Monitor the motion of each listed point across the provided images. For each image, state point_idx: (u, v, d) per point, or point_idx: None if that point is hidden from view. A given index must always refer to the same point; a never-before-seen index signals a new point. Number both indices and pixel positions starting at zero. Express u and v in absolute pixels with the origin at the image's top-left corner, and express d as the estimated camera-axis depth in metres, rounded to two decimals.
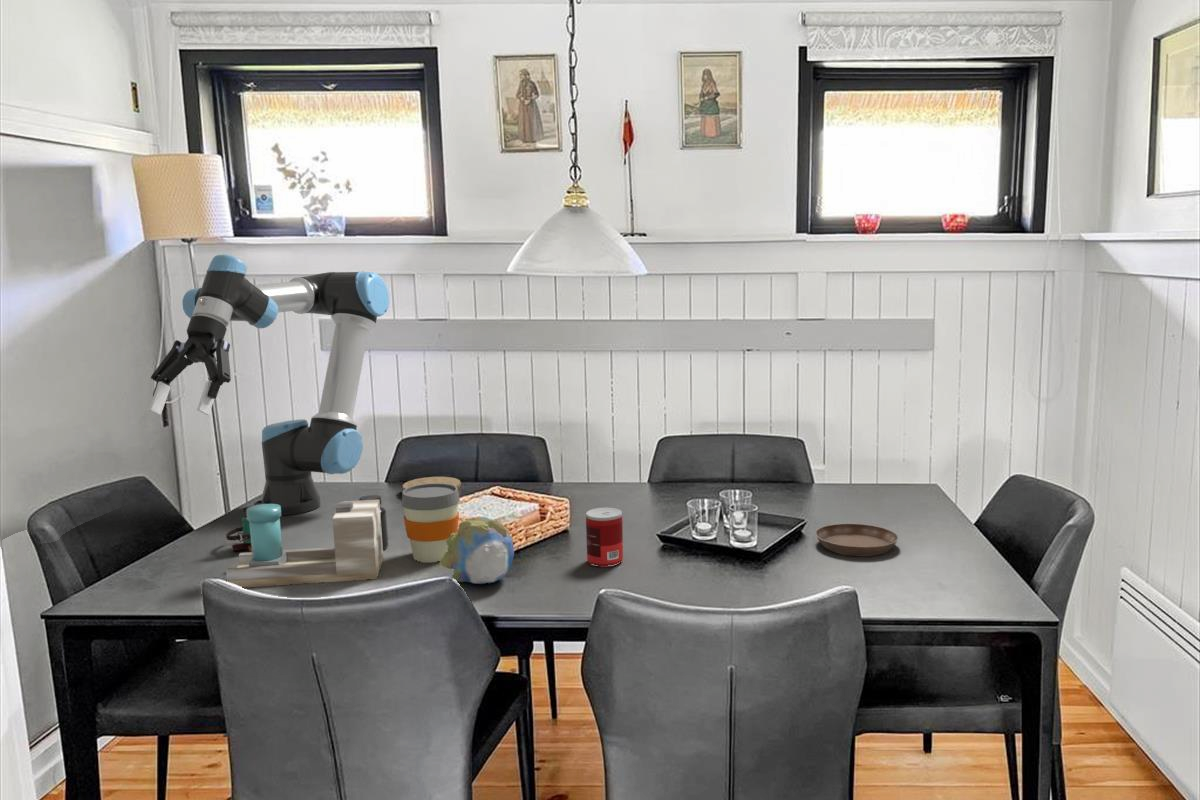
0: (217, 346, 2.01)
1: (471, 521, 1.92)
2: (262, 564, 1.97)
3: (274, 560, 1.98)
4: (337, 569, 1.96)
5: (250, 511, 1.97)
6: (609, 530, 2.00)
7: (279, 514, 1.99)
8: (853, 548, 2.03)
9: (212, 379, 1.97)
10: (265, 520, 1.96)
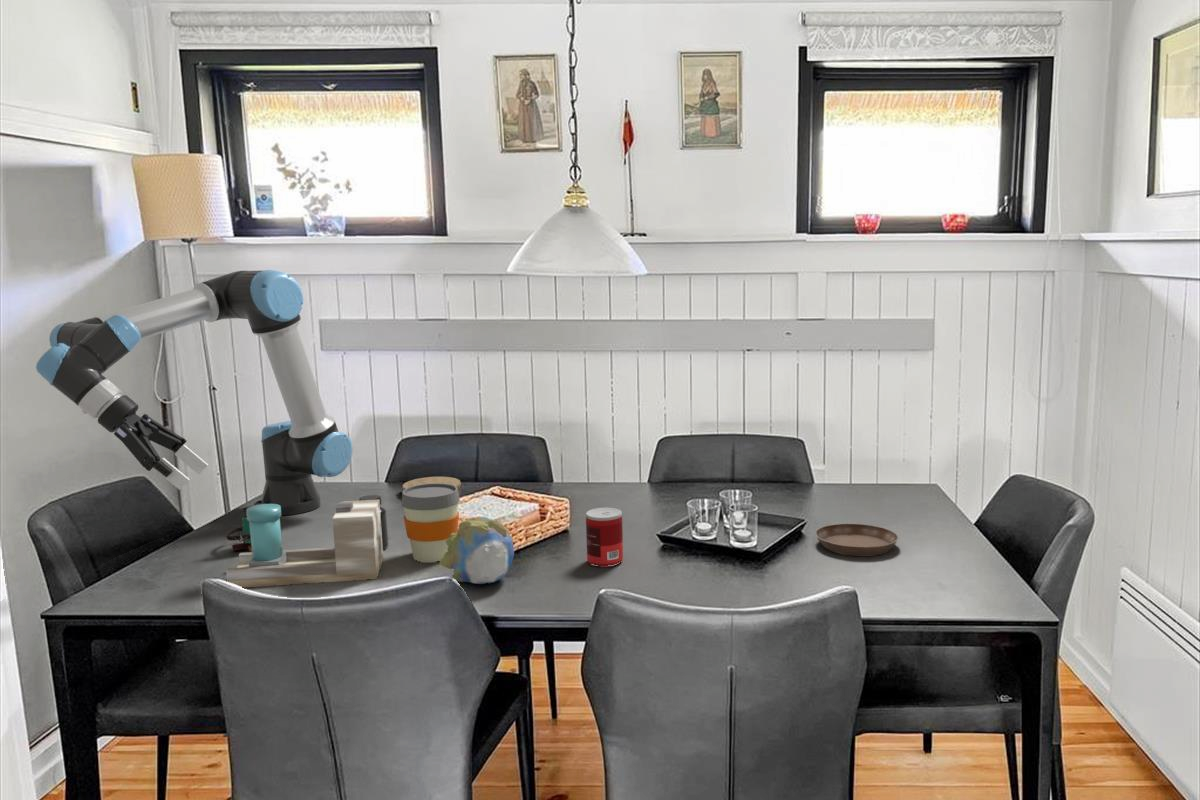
0: None
1: (471, 521, 1.92)
2: (262, 564, 1.97)
3: (274, 560, 1.98)
4: (337, 569, 1.96)
5: (250, 511, 1.97)
6: (609, 530, 2.00)
7: (279, 514, 1.99)
8: (853, 548, 2.03)
9: (150, 469, 1.88)
10: (265, 520, 1.96)
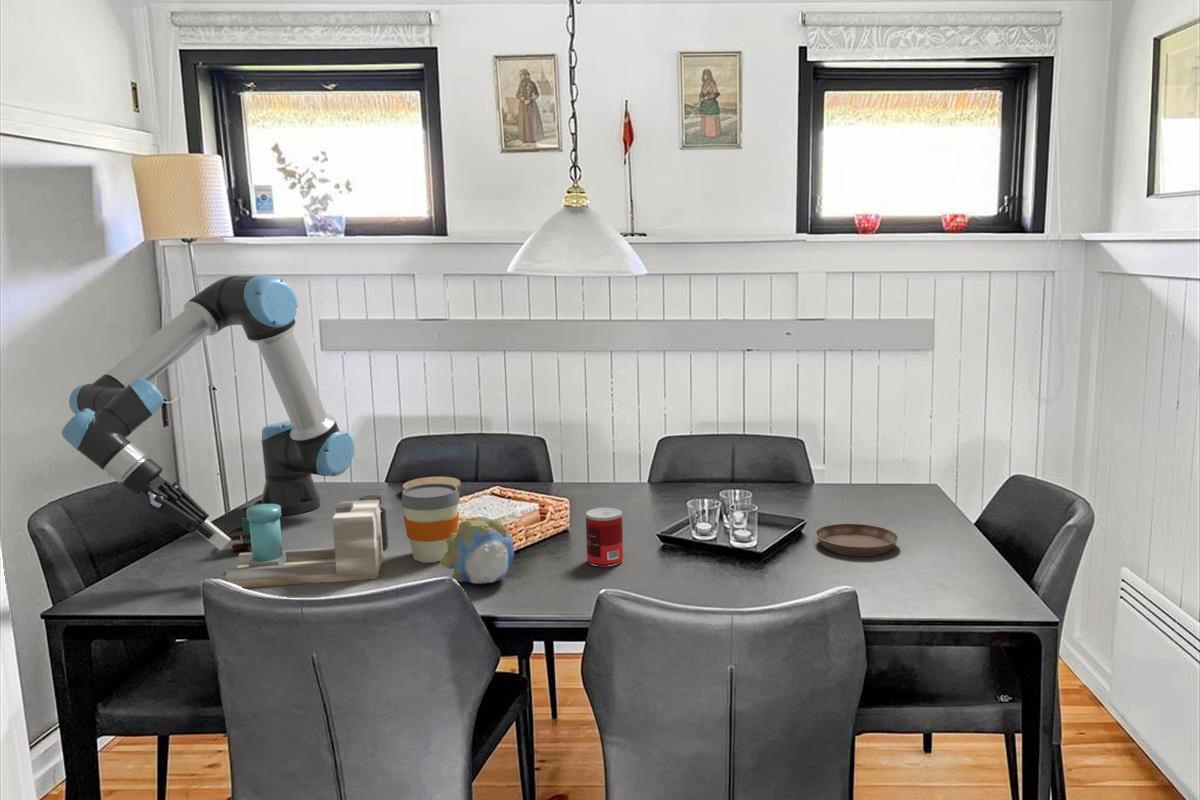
0: None
1: (471, 521, 1.92)
2: (262, 564, 1.97)
3: (274, 560, 1.98)
4: (337, 569, 1.96)
5: (250, 511, 1.97)
6: (609, 530, 2.00)
7: (279, 514, 1.99)
8: (853, 548, 2.03)
9: None
10: (265, 520, 1.96)
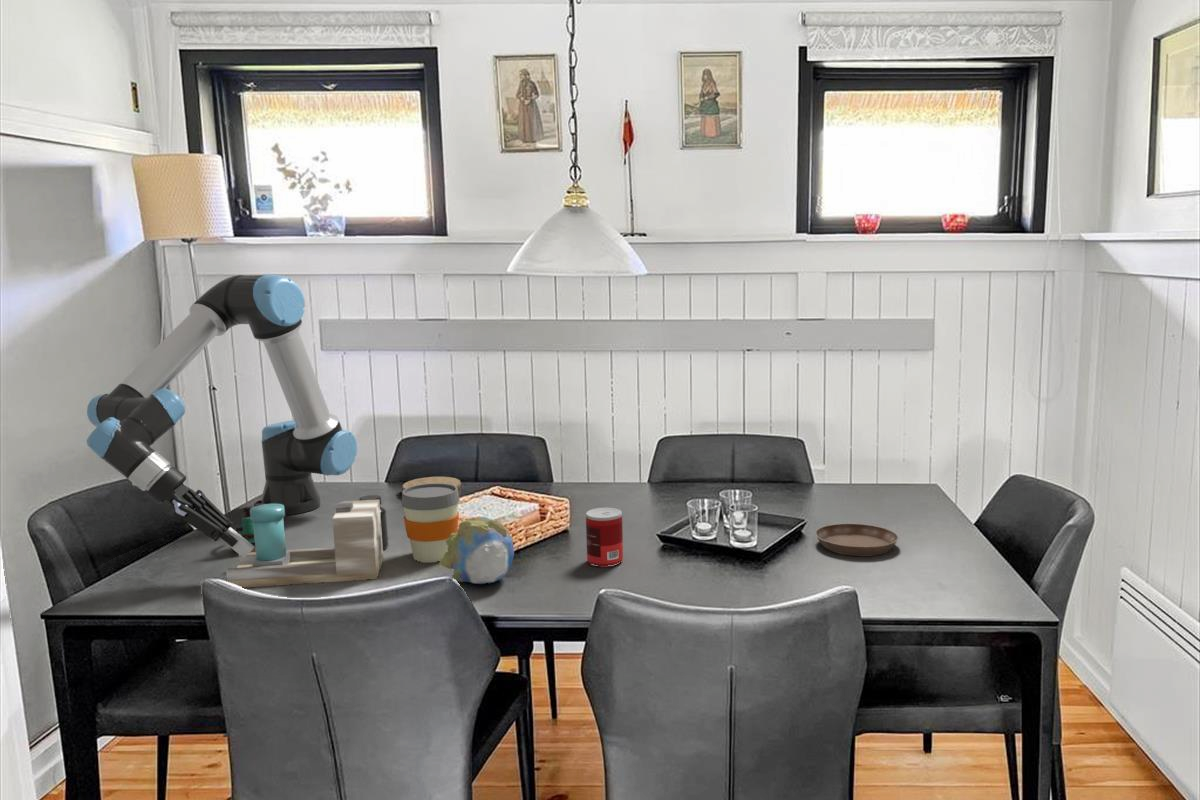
0: None
1: (471, 521, 1.92)
2: (266, 564, 1.97)
3: (278, 560, 1.98)
4: (337, 569, 1.96)
5: (254, 511, 1.97)
6: (609, 530, 2.00)
7: (283, 514, 1.99)
8: (853, 548, 2.03)
9: None
10: (269, 520, 1.96)
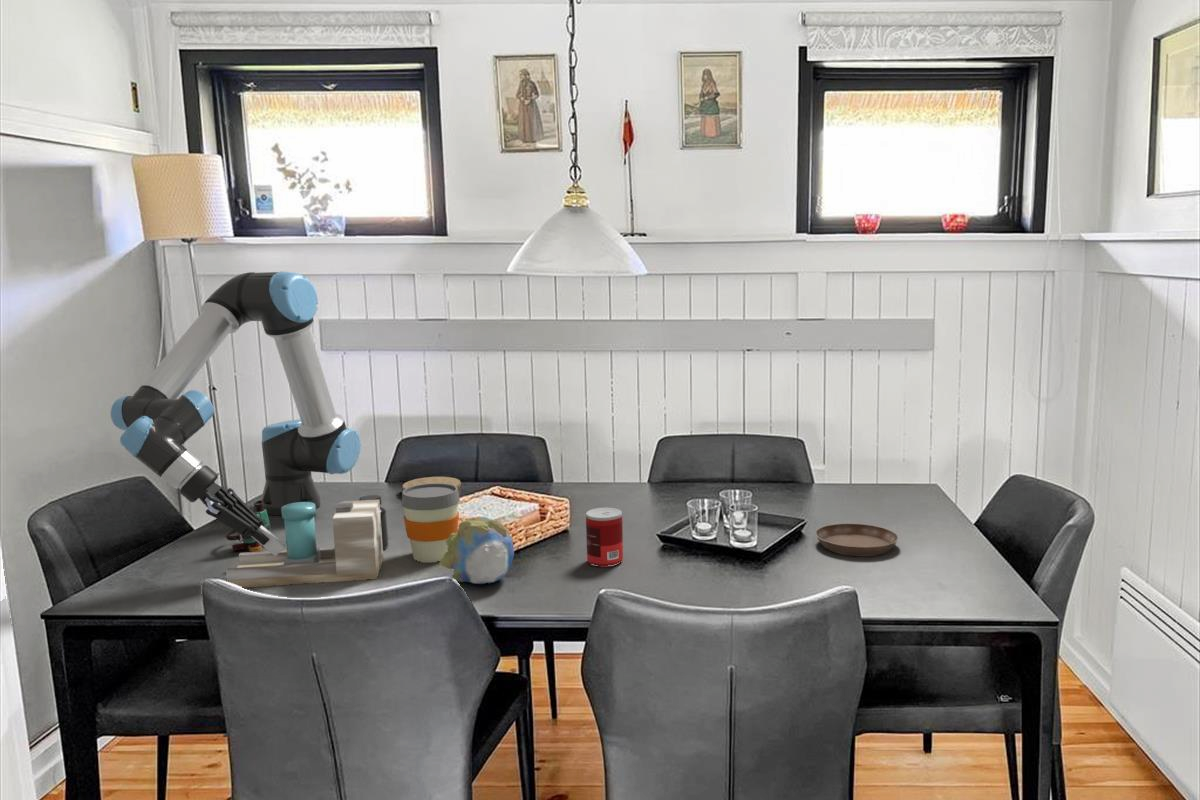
0: None
1: (471, 521, 1.92)
2: (297, 562, 1.98)
3: (309, 558, 1.99)
4: (337, 569, 1.96)
5: (285, 509, 1.98)
6: (609, 530, 2.00)
7: (314, 512, 2.00)
8: (853, 548, 2.03)
9: (249, 537, 1.98)
10: (300, 518, 1.97)
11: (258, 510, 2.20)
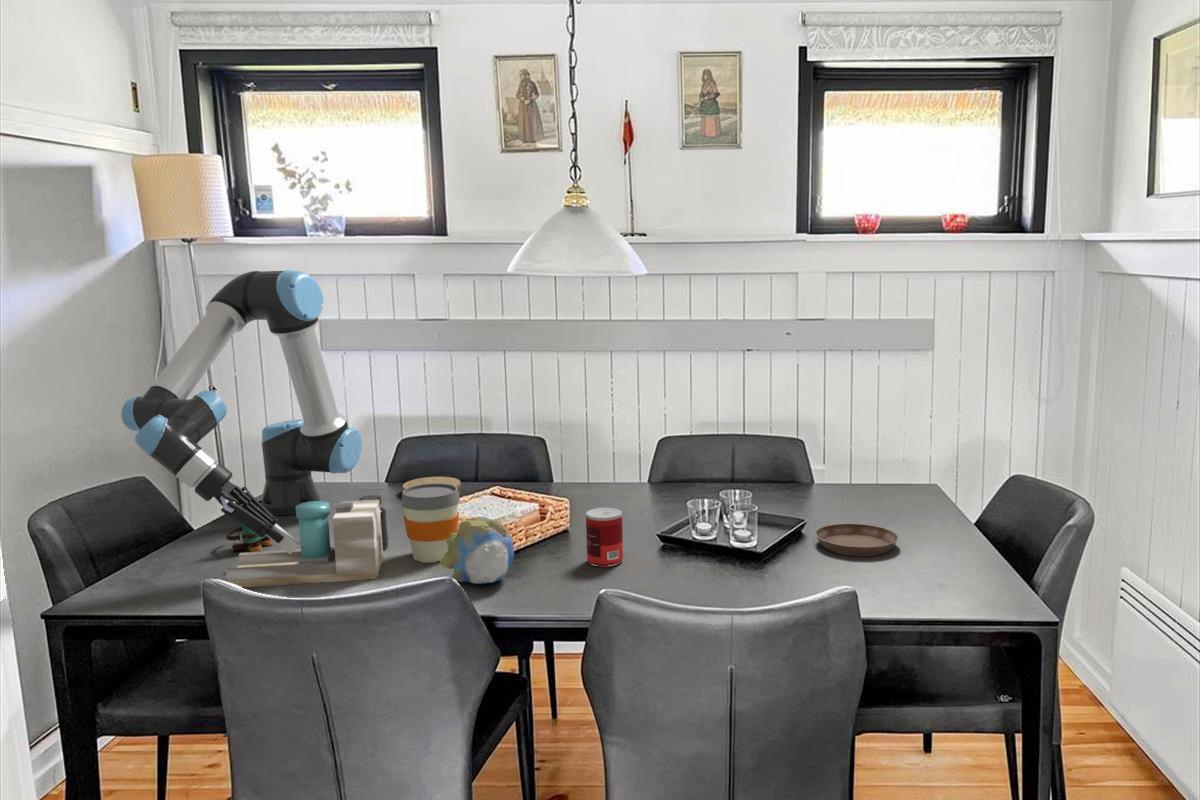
0: None
1: (471, 521, 1.92)
2: (311, 561, 1.98)
3: (323, 557, 1.99)
4: (337, 569, 1.96)
5: (300, 508, 1.98)
6: (609, 530, 2.00)
7: (328, 511, 2.00)
8: (853, 548, 2.03)
9: (264, 535, 1.99)
10: (315, 517, 1.97)
11: None
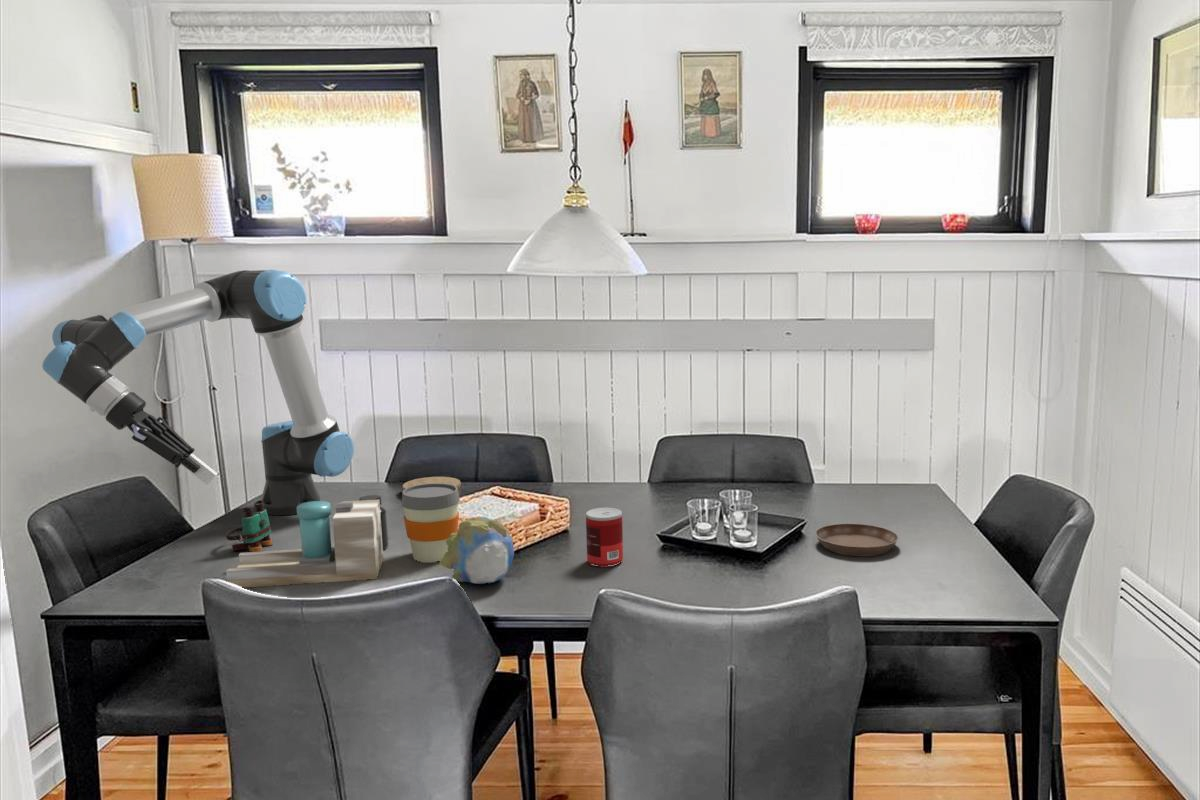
0: None
1: (471, 521, 1.92)
2: (312, 561, 1.98)
3: (324, 557, 1.99)
4: (337, 569, 1.96)
5: (301, 508, 1.98)
6: (609, 530, 2.00)
7: (329, 511, 2.00)
8: (853, 548, 2.03)
9: (179, 465, 1.94)
10: (316, 517, 1.97)
11: (258, 510, 2.20)
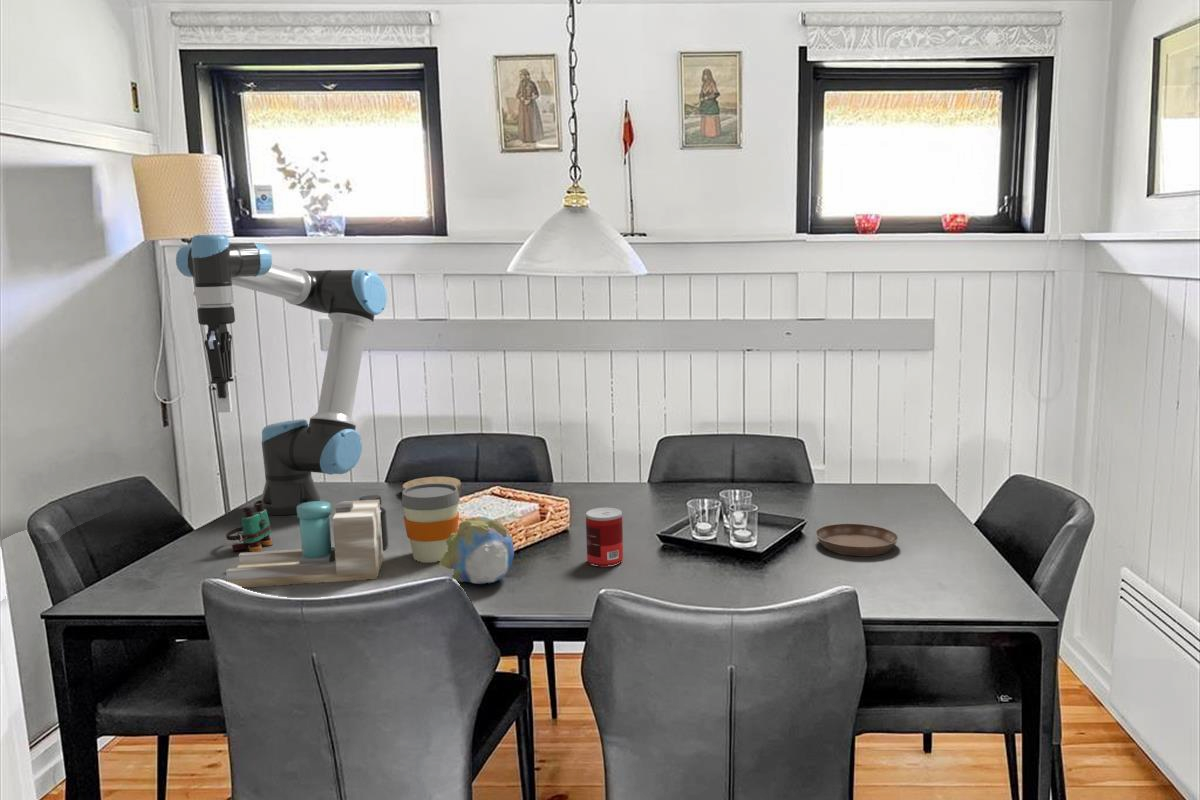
0: None
1: (471, 521, 1.92)
2: (312, 561, 1.98)
3: (324, 557, 1.99)
4: (337, 569, 1.96)
5: (301, 508, 1.98)
6: (609, 530, 2.00)
7: (329, 511, 2.00)
8: (853, 548, 2.03)
9: (214, 383, 2.11)
10: (316, 517, 1.97)
11: (258, 510, 2.20)
